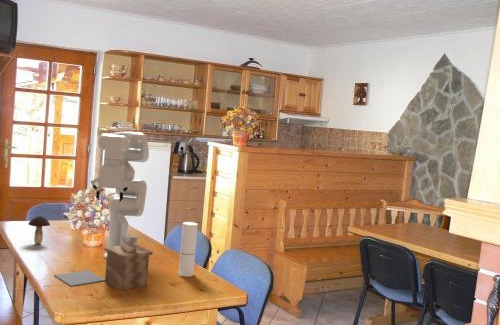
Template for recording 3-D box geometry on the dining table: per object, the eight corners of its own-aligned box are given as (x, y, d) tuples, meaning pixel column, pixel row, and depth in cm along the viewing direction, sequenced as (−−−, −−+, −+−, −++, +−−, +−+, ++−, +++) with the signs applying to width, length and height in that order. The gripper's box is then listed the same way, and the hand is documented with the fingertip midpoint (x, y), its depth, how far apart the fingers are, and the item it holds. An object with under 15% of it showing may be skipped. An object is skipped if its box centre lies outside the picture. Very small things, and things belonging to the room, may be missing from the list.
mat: (87, 271, 238) (87, 270, 238) (105, 280, 227) (105, 279, 227) (54, 276, 227) (54, 275, 227) (71, 286, 215) (71, 285, 215)
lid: (133, 246, 236) (134, 231, 235) (152, 254, 225) (153, 238, 225) (104, 250, 225) (105, 233, 225) (122, 258, 215) (123, 241, 214)
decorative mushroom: (46, 241, 284) (48, 214, 283) (50, 246, 274) (52, 218, 273) (25, 241, 278) (27, 214, 277) (28, 246, 269) (30, 218, 268)
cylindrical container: (195, 273, 250) (200, 223, 248) (189, 277, 243) (193, 225, 241) (182, 271, 252) (186, 221, 250) (175, 274, 246) (180, 223, 244)
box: (130, 277, 236) (132, 247, 234) (146, 285, 226) (149, 254, 225) (105, 281, 226) (107, 250, 225) (120, 290, 217) (123, 257, 216)
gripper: (131, 163, 237) (128, 200, 238) (92, 160, 233) (89, 198, 233) (132, 165, 230) (129, 202, 231) (92, 162, 225) (88, 200, 226)
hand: (109, 200), depth 232 cm, fingers open, 9 cm apart
